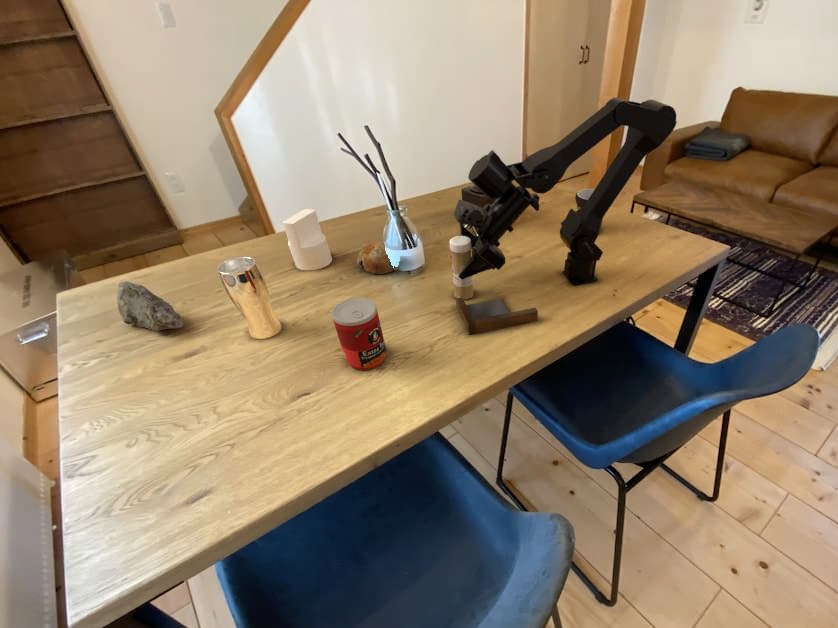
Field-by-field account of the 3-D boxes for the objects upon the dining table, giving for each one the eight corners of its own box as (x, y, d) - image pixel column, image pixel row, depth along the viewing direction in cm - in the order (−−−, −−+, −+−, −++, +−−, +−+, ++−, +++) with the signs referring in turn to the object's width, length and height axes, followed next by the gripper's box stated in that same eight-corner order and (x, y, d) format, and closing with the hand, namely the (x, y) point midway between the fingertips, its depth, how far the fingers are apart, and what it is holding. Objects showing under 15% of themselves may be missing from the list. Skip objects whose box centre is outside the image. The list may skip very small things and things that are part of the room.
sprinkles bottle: (451, 293, 101) (445, 237, 92) (469, 288, 102) (465, 233, 93) (459, 302, 98) (454, 246, 89) (477, 297, 99) (474, 241, 90)
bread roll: (387, 289, 109) (395, 264, 103) (349, 270, 107) (355, 243, 102) (402, 270, 116) (410, 245, 111) (366, 251, 114) (372, 226, 109)
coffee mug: (605, 236, 122) (611, 200, 115) (575, 236, 122) (579, 200, 116) (599, 219, 131) (604, 184, 124) (570, 219, 131) (574, 185, 124)
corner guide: (520, 295, 100) (520, 286, 98) (537, 320, 92) (538, 311, 90) (456, 308, 96) (455, 298, 94) (469, 335, 89) (468, 325, 87)
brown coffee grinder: (460, 221, 130) (455, 156, 118) (484, 210, 137) (482, 147, 125) (500, 235, 123) (499, 168, 111) (524, 222, 129) (525, 157, 117)
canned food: (368, 376, 80) (353, 327, 72) (337, 361, 83) (320, 313, 75) (396, 353, 84) (385, 305, 77) (366, 340, 88) (353, 293, 80)
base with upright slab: (318, 272, 108) (302, 225, 100) (288, 267, 110) (270, 221, 102) (339, 256, 115) (326, 211, 106) (310, 251, 117) (295, 207, 109)
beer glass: (249, 344, 87) (215, 277, 77) (246, 326, 92) (214, 261, 82) (286, 334, 89) (258, 268, 79) (281, 317, 94) (254, 252, 84)
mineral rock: (188, 334, 90) (162, 291, 83) (126, 352, 86) (94, 309, 79) (183, 305, 98) (159, 264, 91) (127, 320, 94) (97, 278, 87)
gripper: (466, 171, 91) (420, 228, 97) (488, 204, 78) (434, 268, 83) (502, 205, 98) (457, 256, 103) (528, 240, 85) (475, 297, 90)
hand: (456, 268), depth 95 cm, fingers open, 9 cm apart
